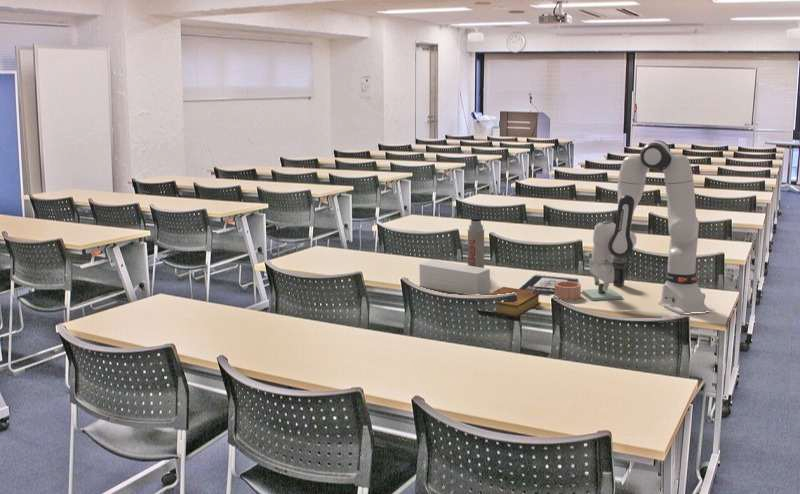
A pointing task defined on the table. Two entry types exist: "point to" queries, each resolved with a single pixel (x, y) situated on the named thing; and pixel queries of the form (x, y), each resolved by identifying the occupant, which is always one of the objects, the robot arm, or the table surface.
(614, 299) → the mat
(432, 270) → the white oblong block
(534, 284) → the sketchbook
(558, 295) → the bowl
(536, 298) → the diary
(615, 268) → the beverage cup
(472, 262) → the thermos bottle
